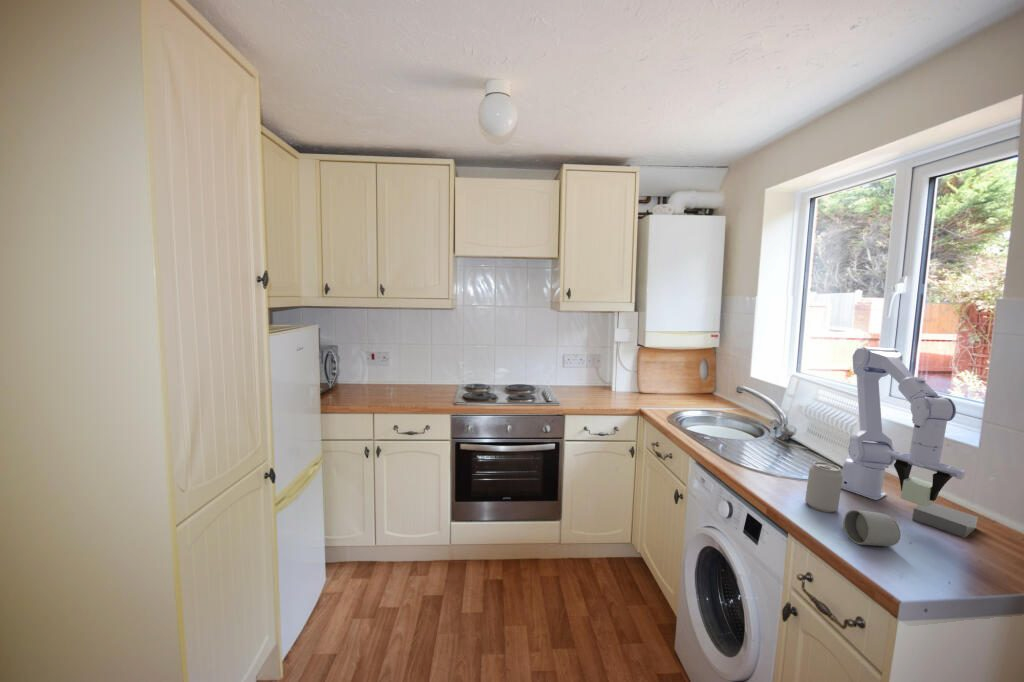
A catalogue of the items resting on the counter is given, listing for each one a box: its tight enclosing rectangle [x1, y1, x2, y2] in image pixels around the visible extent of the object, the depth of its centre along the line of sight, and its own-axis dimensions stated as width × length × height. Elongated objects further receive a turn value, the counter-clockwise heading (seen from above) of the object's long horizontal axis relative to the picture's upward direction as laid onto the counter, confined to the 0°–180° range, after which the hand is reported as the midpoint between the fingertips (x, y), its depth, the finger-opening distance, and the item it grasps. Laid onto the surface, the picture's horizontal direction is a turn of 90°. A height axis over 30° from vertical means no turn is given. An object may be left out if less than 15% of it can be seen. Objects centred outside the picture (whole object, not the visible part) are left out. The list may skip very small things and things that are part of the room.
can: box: [805, 461, 843, 513], centre depth 119 cm, size 8×8×12 cm
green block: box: [900, 476, 935, 507], centre depth 111 cm, size 5×5×5 cm
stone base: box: [912, 502, 979, 539], centre depth 114 cm, size 10×10×3 cm
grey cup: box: [842, 508, 901, 547], centre depth 104 cm, size 11×8×8 cm
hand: (918, 495), depth 111 cm, fingers closed on green block, 5 cm apart
